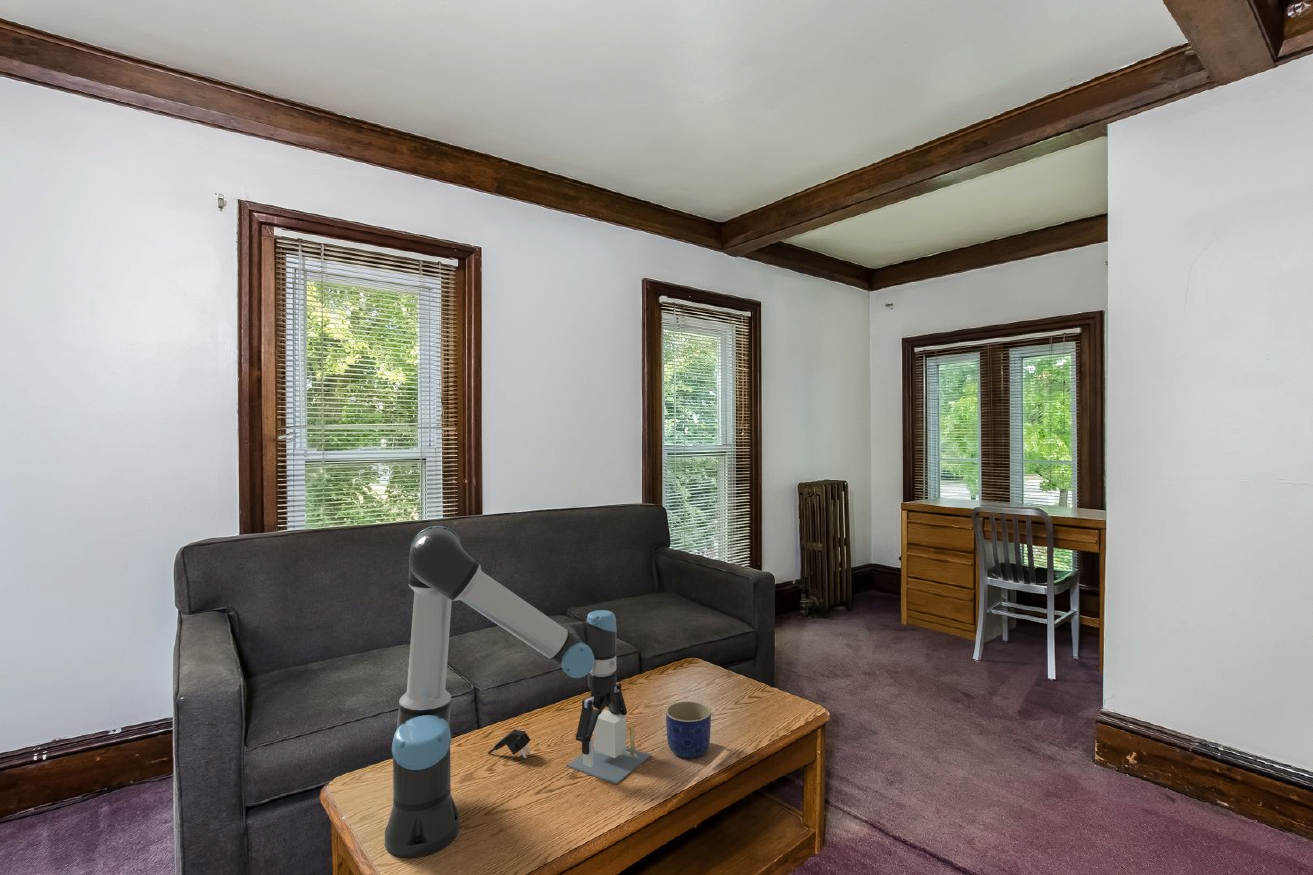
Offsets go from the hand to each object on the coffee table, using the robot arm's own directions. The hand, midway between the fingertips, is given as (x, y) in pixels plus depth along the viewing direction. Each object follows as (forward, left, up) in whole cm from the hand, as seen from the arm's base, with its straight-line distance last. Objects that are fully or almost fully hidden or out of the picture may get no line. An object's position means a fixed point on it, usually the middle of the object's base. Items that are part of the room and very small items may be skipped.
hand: (602, 754), depth 160 cm
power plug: (-11, +29, -5) cm, 31 cm away
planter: (+19, -15, -3) cm, 24 cm away
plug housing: (+3, 0, 0) cm, 3 cm away
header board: (+3, 0, -3) cm, 4 cm away
